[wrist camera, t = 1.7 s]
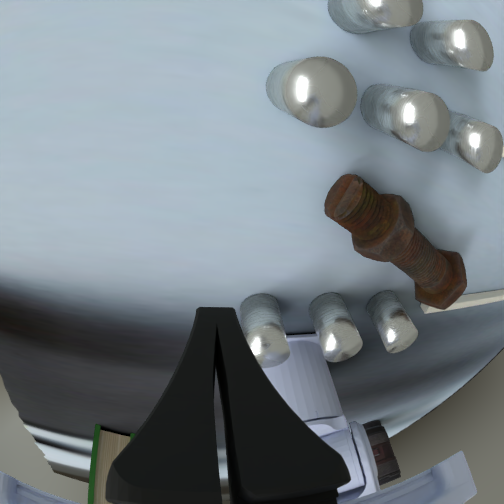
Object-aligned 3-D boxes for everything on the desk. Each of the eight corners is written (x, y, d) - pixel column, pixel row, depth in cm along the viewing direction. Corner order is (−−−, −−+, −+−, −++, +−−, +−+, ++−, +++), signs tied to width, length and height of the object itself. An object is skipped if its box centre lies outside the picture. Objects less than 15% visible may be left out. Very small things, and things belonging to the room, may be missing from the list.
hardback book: (95, 424, 37) (87, 544, 18) (135, 433, 40) (135, 553, 20) (99, 446, 46) (94, 537, 26) (130, 454, 48) (129, 544, 28)
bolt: (325, 164, 19) (428, 253, 25) (297, 226, 19) (411, 300, 25) (383, 151, 14) (476, 261, 19) (353, 232, 14) (458, 315, 19)
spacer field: (387, 313, 27) (407, 350, 23) (238, 320, 24) (244, 369, 20) (470, 49, 12) (517, 57, 8) (280, -28, 10) (303, -60, 6)
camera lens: (342, 437, 52) (358, 493, 39) (355, 424, 47) (374, 487, 35) (373, 429, 53) (391, 482, 40) (388, 415, 48) (409, 473, 36)
